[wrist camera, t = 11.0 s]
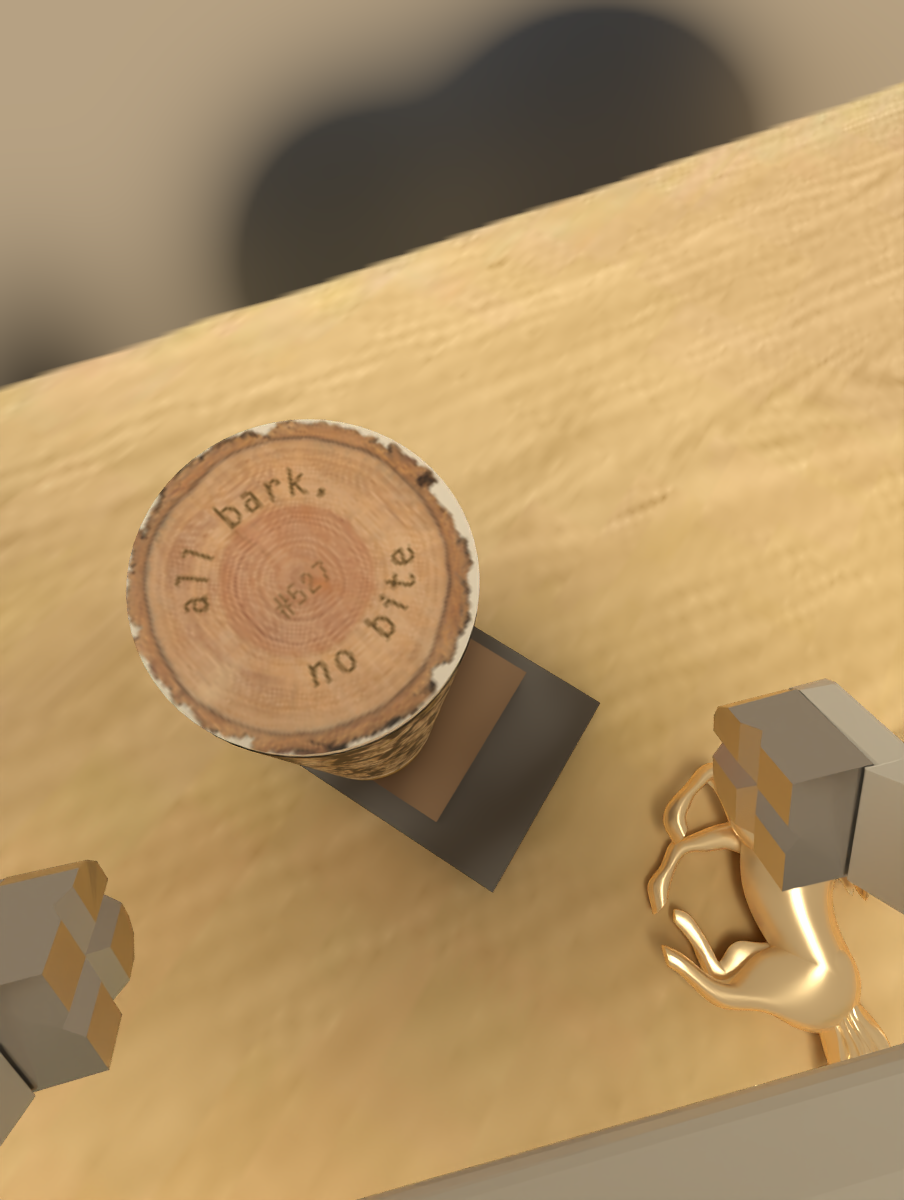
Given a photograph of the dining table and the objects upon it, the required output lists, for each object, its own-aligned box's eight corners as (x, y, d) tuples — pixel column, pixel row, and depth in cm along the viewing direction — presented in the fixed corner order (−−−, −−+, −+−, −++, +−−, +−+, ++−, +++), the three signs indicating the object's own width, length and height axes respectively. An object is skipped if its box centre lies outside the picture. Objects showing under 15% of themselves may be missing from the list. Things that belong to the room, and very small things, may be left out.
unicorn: (671, 1122, 38) (1000, 1099, 38) (695, 1155, 34) (1060, 1129, 34) (621, 732, 44) (906, 713, 44) (636, 723, 40) (948, 703, 40)
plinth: (228, 716, 43) (202, 704, 39) (344, 554, 46) (333, 524, 41) (490, 889, 41) (497, 900, 36) (594, 706, 44) (614, 693, 39)
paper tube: (274, 711, 38) (50, 568, 14) (371, 623, 40) (321, 357, 15) (362, 809, 37) (287, 837, 13) (459, 715, 39) (552, 585, 15)
